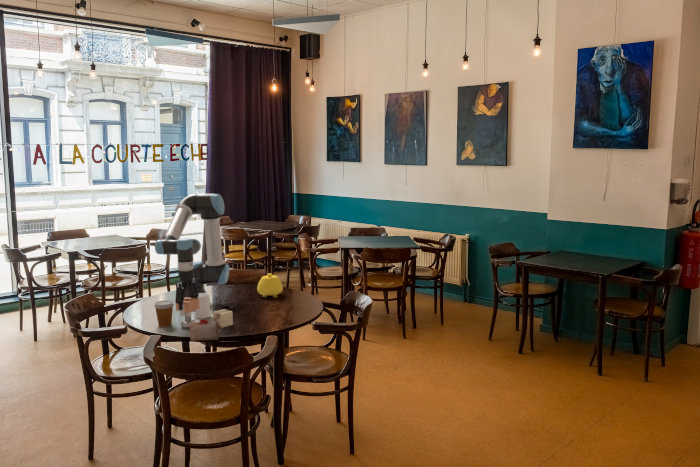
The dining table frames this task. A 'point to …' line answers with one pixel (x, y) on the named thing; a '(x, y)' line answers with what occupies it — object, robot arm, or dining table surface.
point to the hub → (187, 321)
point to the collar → (189, 304)
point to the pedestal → (223, 317)
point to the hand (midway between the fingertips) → (187, 313)
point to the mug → (203, 306)
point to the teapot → (269, 285)
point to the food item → (204, 330)
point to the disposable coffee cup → (164, 313)
